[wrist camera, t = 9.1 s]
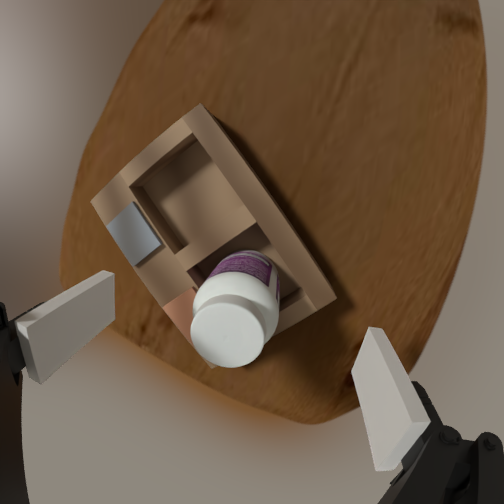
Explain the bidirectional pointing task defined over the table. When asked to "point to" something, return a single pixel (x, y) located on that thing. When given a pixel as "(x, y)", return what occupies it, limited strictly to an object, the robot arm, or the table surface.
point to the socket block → (204, 221)
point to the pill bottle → (236, 309)
